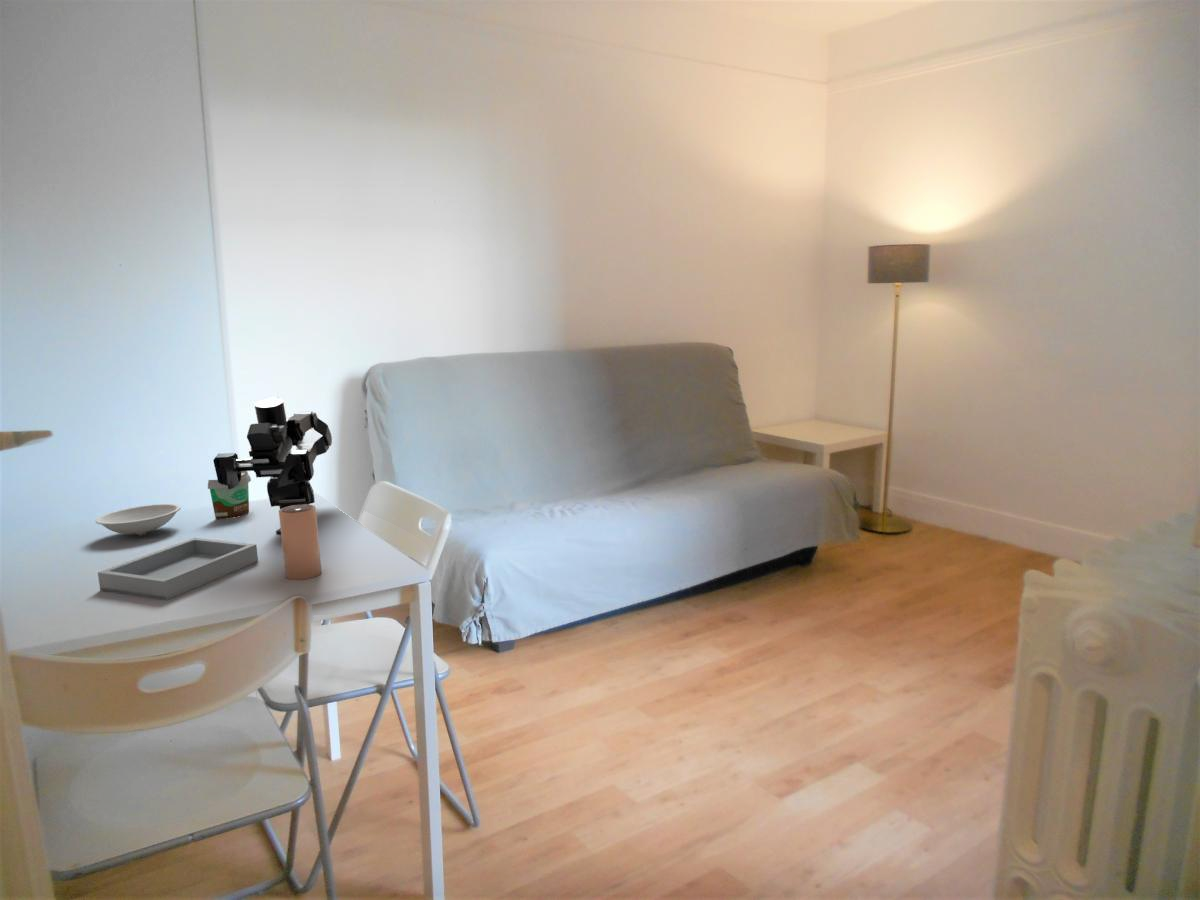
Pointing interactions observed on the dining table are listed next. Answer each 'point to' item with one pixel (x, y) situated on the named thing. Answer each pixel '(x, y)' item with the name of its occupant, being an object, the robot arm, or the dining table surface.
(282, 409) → the robot arm
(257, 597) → the dining table surface
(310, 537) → the cup
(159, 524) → the dish
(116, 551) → the dining table surface
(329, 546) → the dining table surface
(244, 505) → the food container
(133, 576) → the tray
